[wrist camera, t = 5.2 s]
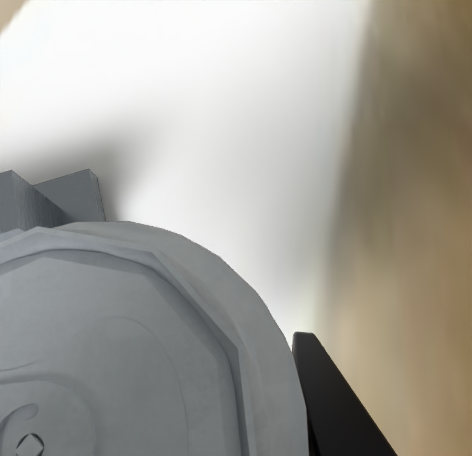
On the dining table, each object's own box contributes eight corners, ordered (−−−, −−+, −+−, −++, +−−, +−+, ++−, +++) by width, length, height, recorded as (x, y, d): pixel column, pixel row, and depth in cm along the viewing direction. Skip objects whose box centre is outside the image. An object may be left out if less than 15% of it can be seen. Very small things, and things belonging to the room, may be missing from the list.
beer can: (292, 463, 14) (388, 849, 3) (150, 479, 14) (-358, 911, 3) (271, 317, 15) (271, 155, 4) (144, 333, 16) (-184, 219, 4)
